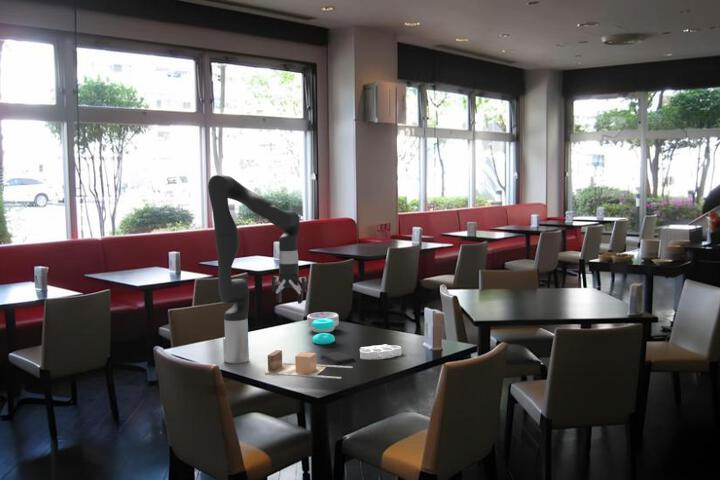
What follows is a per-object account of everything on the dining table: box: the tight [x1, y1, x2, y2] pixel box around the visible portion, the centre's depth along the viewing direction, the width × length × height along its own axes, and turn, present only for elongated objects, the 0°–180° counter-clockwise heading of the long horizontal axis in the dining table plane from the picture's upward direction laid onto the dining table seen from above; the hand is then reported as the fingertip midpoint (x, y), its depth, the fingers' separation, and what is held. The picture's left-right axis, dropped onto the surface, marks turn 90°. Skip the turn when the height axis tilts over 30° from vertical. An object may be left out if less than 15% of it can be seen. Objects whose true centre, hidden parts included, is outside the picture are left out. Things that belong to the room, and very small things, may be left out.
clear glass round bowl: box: [306, 311, 340, 334], centre depth 317 cm, size 15×15×8 cm
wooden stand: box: [264, 349, 327, 376], centre depth 246 cm, size 20×12×7 cm, turn 74°
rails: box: [268, 362, 353, 380], centre depth 244 cm, size 28×15×2 cm, turn 74°
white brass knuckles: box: [359, 343, 402, 360], centre depth 269 cm, size 3×18×15 cm
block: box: [294, 351, 317, 373], centre depth 245 cm, size 6×6×6 cm
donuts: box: [312, 319, 336, 345], centre depth 293 cm, size 10×10×10 cm
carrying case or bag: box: [319, 351, 357, 366], centre depth 260 cm, size 11×3×15 cm
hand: (289, 302), depth 257 cm, fingers open, 8 cm apart
